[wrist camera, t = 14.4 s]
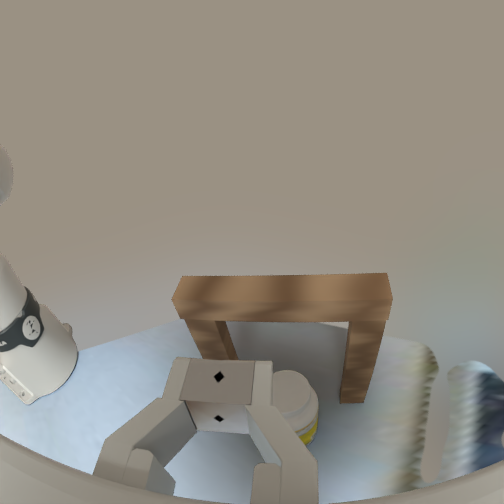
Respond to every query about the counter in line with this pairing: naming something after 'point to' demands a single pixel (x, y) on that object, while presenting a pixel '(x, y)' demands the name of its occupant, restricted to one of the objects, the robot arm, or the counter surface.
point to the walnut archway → (291, 313)
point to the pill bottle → (296, 403)
